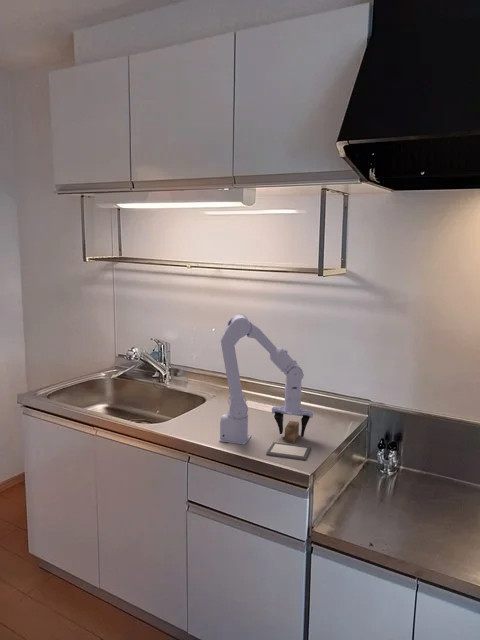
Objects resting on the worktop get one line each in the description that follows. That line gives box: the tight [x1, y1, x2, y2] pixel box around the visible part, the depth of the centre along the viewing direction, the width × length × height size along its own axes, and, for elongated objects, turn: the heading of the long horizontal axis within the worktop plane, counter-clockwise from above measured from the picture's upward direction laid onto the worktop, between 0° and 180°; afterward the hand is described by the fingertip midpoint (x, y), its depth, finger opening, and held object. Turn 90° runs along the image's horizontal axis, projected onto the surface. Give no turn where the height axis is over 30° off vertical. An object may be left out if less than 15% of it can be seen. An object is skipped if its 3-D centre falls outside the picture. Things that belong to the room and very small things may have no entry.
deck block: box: [283, 420, 300, 444], centre depth 183 cm, size 4×8×5 cm, turn 163°
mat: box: [265, 441, 312, 461], centre depth 171 cm, size 13×10×1 cm
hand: (291, 434), depth 183 cm, fingers open, 7 cm apart
